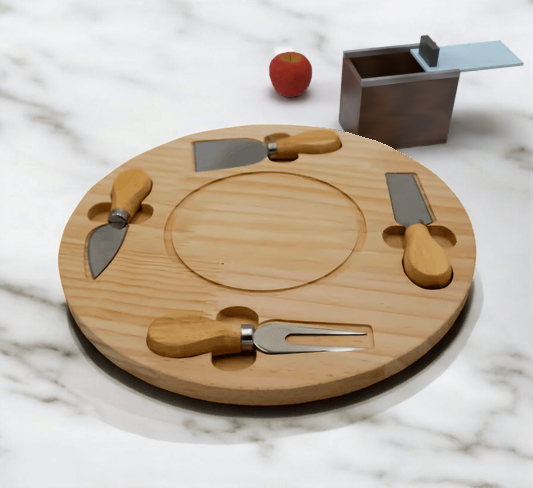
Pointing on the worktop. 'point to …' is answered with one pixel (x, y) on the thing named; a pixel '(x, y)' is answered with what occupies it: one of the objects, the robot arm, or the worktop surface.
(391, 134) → the case
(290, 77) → the apple
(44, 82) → the worktop surface
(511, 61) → the pane
